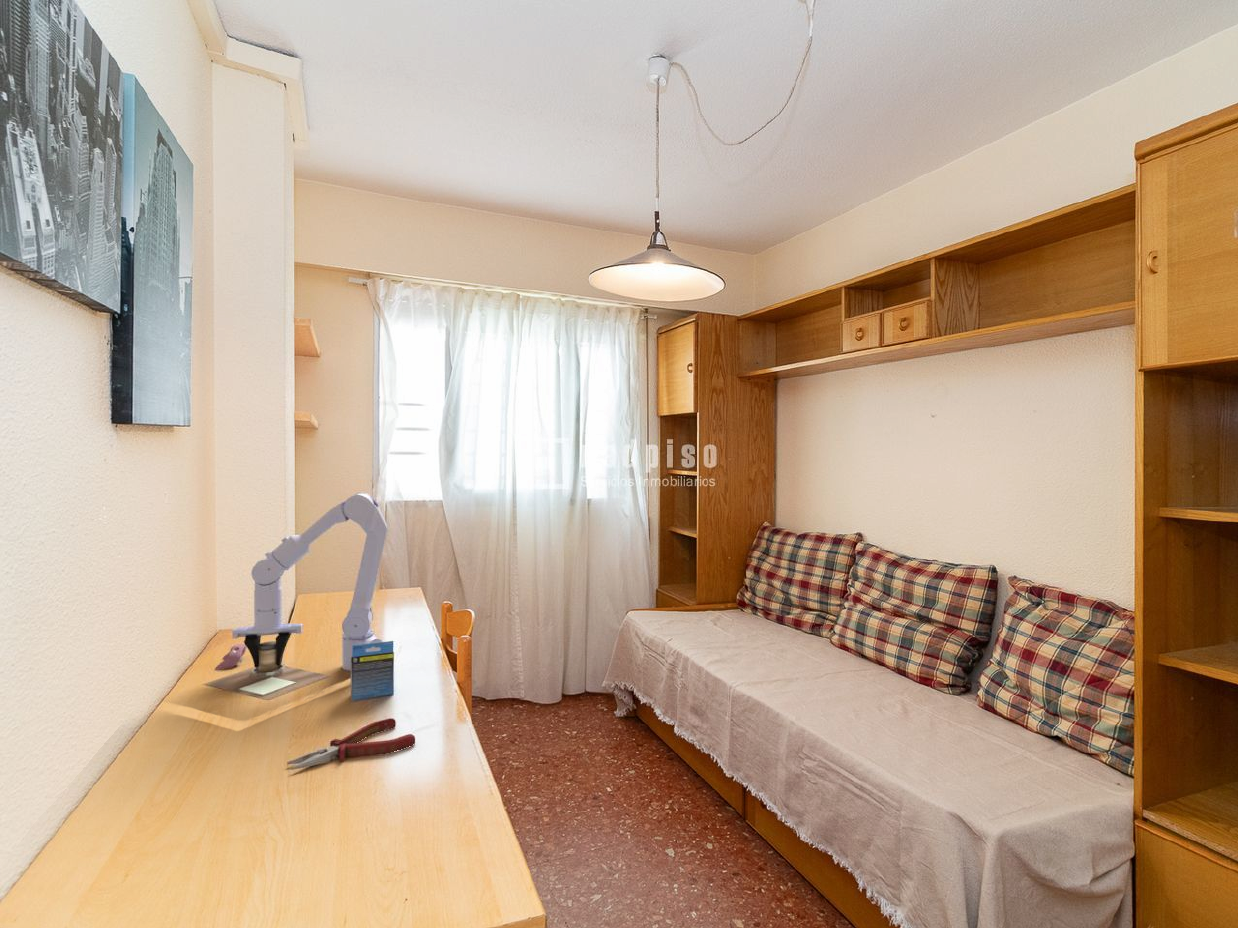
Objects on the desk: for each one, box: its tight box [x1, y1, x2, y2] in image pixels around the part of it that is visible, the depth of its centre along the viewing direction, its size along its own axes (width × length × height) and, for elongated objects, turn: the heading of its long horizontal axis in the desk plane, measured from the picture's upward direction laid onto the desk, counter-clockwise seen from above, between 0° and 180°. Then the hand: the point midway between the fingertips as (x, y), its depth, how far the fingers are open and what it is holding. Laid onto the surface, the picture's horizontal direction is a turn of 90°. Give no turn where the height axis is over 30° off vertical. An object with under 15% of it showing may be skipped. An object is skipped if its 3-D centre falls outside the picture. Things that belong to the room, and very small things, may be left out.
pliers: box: [286, 717, 416, 771], centre depth 111 cm, size 12×20×3 cm, turn 132°
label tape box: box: [350, 640, 395, 702], centre depth 137 cm, size 9×4×12 cm, turn 115°
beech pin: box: [259, 640, 278, 672], centre depth 146 cm, size 4×4×7 cm
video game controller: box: [214, 642, 248, 671], centre depth 154 cm, size 10×5×7 cm, turn 22°
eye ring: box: [251, 663, 286, 679], centre depth 146 cm, size 7×7×1 cm
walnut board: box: [202, 665, 332, 701], centre depth 142 cm, size 22×16×2 cm
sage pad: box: [239, 677, 296, 696], centre depth 137 cm, size 8×8×1 cm
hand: (268, 665), depth 146 cm, fingers closed on beech pin, 4 cm apart
